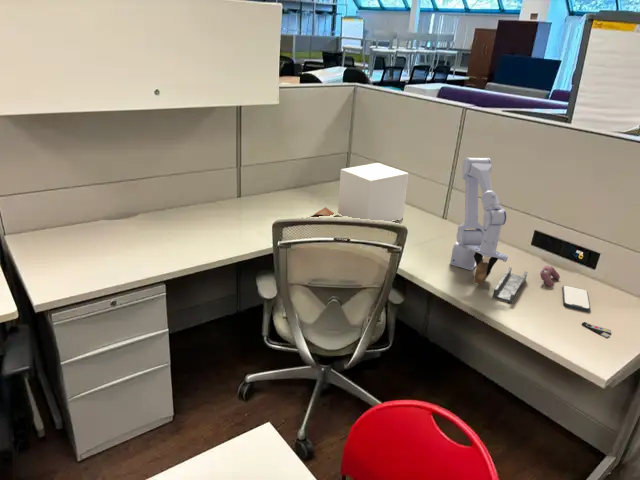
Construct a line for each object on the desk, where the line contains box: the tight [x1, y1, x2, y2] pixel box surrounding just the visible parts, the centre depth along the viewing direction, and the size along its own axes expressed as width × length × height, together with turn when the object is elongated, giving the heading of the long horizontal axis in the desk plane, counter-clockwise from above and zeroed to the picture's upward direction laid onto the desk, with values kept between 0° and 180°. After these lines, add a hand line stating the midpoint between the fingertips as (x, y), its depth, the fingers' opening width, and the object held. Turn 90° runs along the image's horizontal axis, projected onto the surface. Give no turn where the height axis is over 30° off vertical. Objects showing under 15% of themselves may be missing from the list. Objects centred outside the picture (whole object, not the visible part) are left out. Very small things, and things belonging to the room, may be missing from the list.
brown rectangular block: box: [473, 256, 492, 286], centre depth 185 cm, size 3×12×7 cm, turn 147°
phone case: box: [561, 285, 591, 313], centre depth 180 cm, size 9×2×16 cm
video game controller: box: [540, 265, 561, 288], centre depth 191 cm, size 10×5×7 cm, turn 141°
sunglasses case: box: [310, 206, 335, 217], centre depth 240 cm, size 18×7×7 cm
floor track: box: [492, 266, 529, 304], centre depth 184 cm, size 7×22×4 cm, turn 147°
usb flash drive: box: [581, 321, 612, 339], centre depth 162 cm, size 9×5×1 cm, turn 32°
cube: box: [337, 162, 410, 221], centre depth 241 cm, size 25×21×24 cm
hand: (483, 272), depth 186 cm, fingers closed on brown rectangular block, 3 cm apart
